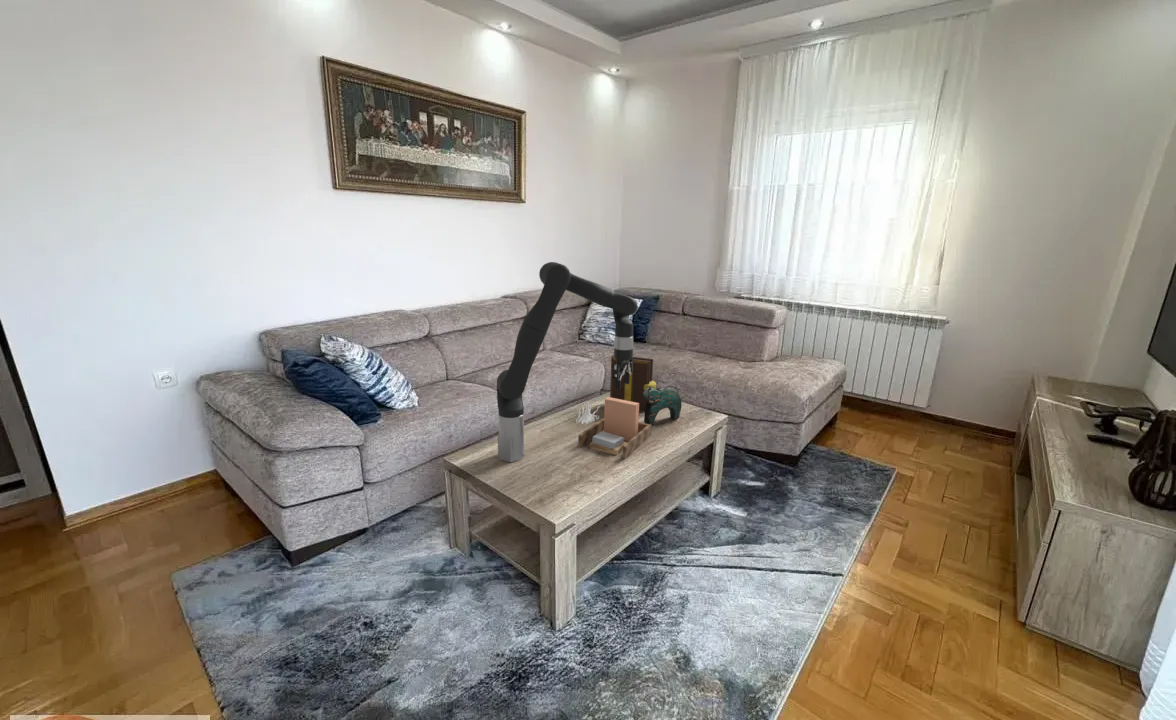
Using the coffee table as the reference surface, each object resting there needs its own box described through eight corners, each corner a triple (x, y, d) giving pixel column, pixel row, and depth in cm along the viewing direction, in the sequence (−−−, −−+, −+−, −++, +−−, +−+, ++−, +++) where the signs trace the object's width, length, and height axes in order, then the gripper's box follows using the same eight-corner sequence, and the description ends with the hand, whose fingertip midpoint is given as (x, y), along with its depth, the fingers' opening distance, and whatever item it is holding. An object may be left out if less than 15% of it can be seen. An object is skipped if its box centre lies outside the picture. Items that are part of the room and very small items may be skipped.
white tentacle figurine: (571, 422, 219) (572, 402, 217) (587, 414, 228) (588, 395, 226) (587, 426, 214) (588, 406, 211) (603, 418, 223) (604, 399, 221)
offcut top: (613, 449, 187) (614, 443, 187) (592, 442, 193) (592, 436, 192) (623, 443, 193) (623, 437, 192) (602, 437, 199) (602, 431, 198)
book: (607, 408, 237) (609, 357, 230) (613, 402, 244) (615, 353, 238) (652, 415, 229) (655, 363, 222) (656, 409, 236) (659, 358, 230)
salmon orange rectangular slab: (634, 442, 198) (636, 405, 194) (603, 435, 205) (604, 399, 201) (637, 440, 201) (639, 403, 197) (606, 432, 208) (608, 397, 203)
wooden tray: (625, 459, 184) (625, 446, 182) (578, 446, 193) (578, 435, 192) (651, 435, 205) (651, 424, 204) (607, 426, 215) (607, 415, 213)
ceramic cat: (646, 428, 213) (649, 384, 208) (638, 423, 218) (640, 380, 213) (682, 420, 222) (685, 378, 217) (673, 416, 228) (676, 374, 223)
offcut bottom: (616, 456, 187) (617, 450, 187) (589, 449, 193) (589, 443, 192) (627, 448, 195) (627, 442, 194) (600, 441, 200) (600, 435, 200)
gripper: (624, 351, 185) (623, 392, 189) (639, 344, 197) (638, 383, 202) (606, 349, 189) (605, 389, 193) (622, 342, 201) (621, 380, 205)
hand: (622, 386), depth 197 cm, fingers open, 8 cm apart
